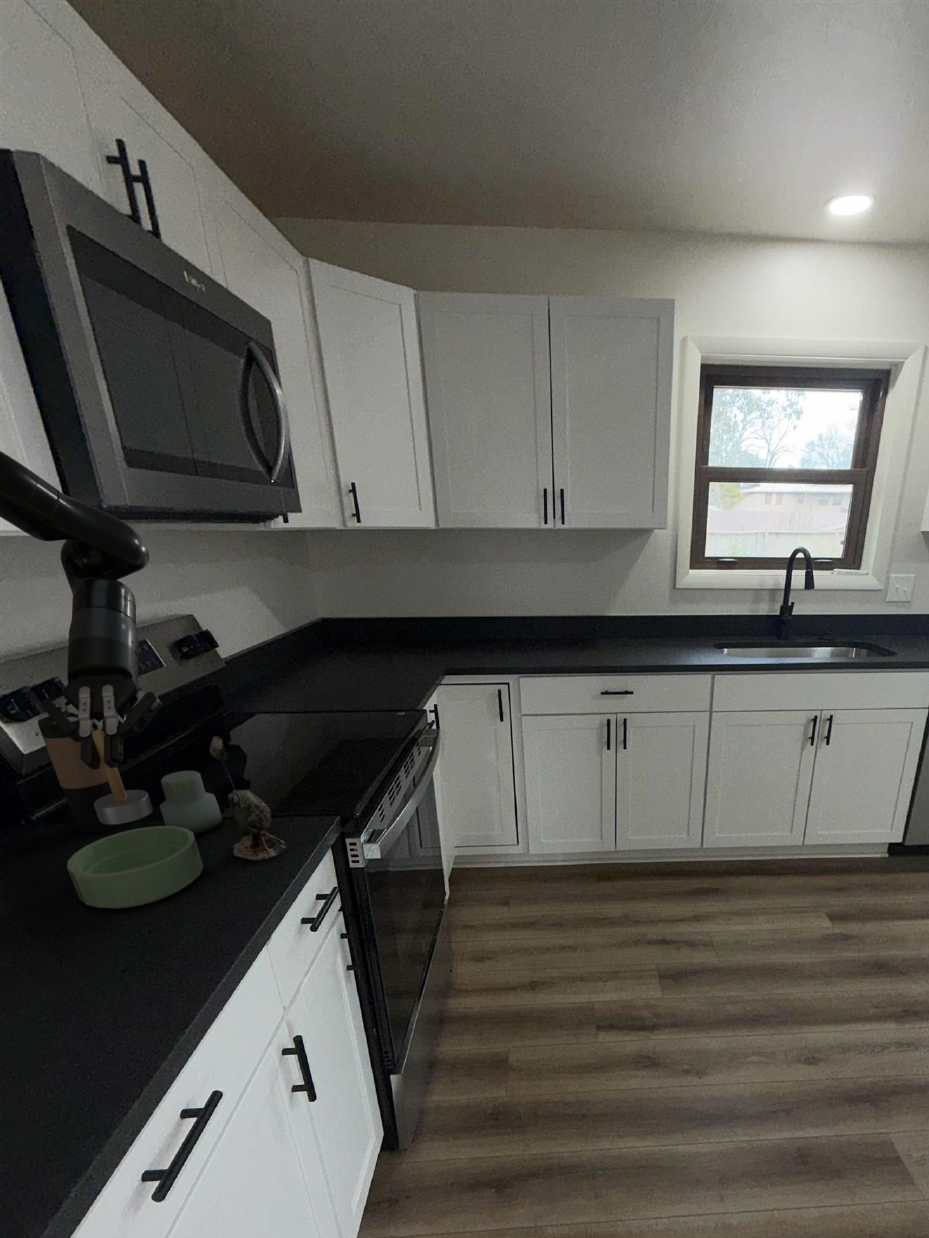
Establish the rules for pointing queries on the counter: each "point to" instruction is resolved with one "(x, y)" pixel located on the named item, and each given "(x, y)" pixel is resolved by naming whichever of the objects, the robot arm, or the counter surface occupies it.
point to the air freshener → (188, 802)
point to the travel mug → (76, 775)
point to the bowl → (135, 867)
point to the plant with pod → (249, 818)
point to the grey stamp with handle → (118, 794)
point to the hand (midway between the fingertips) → (102, 765)
